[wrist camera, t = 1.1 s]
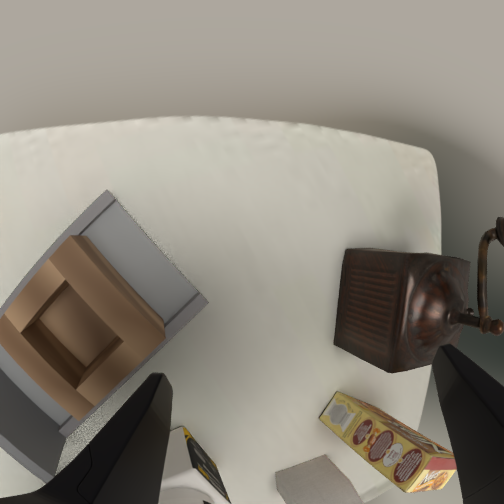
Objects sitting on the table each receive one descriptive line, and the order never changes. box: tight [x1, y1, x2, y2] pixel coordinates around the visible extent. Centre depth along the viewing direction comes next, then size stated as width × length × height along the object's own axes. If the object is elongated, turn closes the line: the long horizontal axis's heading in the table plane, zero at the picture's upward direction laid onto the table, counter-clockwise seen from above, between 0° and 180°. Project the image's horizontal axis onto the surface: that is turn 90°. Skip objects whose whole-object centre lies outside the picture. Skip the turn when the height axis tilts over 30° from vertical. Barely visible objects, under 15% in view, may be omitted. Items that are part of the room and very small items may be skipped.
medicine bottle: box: [158, 426, 231, 504], centre depth 20 cm, size 7×7×12 cm
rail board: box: [0, 190, 209, 484], centre depth 19 cm, size 21×12×8 cm, turn 133°
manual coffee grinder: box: [334, 217, 504, 373], centre depth 23 cm, size 16×11×18 cm
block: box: [0, 235, 166, 421], centre depth 19 cm, size 10×9×5 cm
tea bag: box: [275, 455, 364, 504], centre depth 26 cm, size 4×7×10 cm, turn 97°
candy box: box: [319, 392, 457, 493], centre depth 25 cm, size 9×4×15 cm, turn 58°
